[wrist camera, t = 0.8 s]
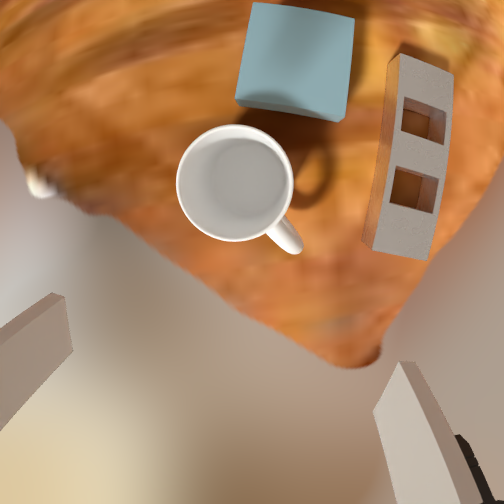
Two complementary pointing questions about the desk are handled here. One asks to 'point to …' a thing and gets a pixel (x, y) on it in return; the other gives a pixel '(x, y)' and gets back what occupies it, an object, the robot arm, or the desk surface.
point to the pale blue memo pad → (296, 61)
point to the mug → (238, 186)
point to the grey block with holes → (410, 158)
